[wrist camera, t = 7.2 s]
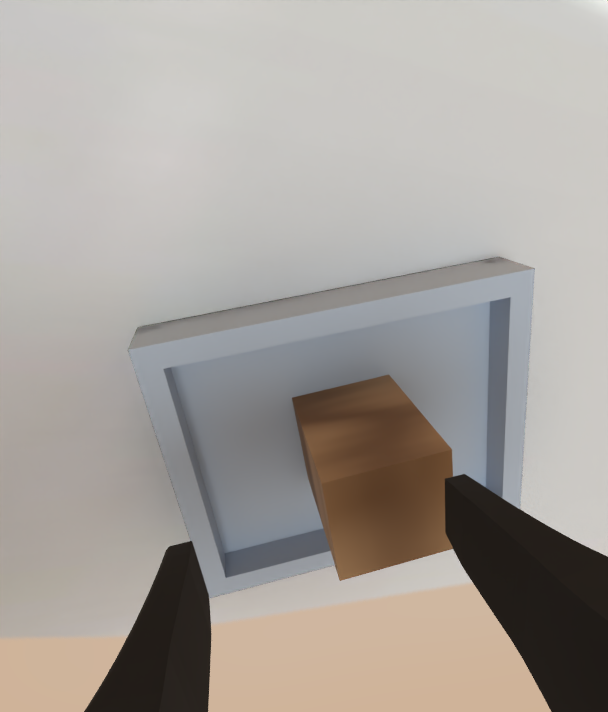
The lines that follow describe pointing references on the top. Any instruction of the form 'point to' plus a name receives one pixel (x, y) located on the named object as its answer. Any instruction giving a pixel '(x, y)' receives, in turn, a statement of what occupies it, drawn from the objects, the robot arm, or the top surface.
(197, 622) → the robot arm
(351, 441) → the walnut block
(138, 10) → the top surface
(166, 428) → the tray
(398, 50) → the top surface
